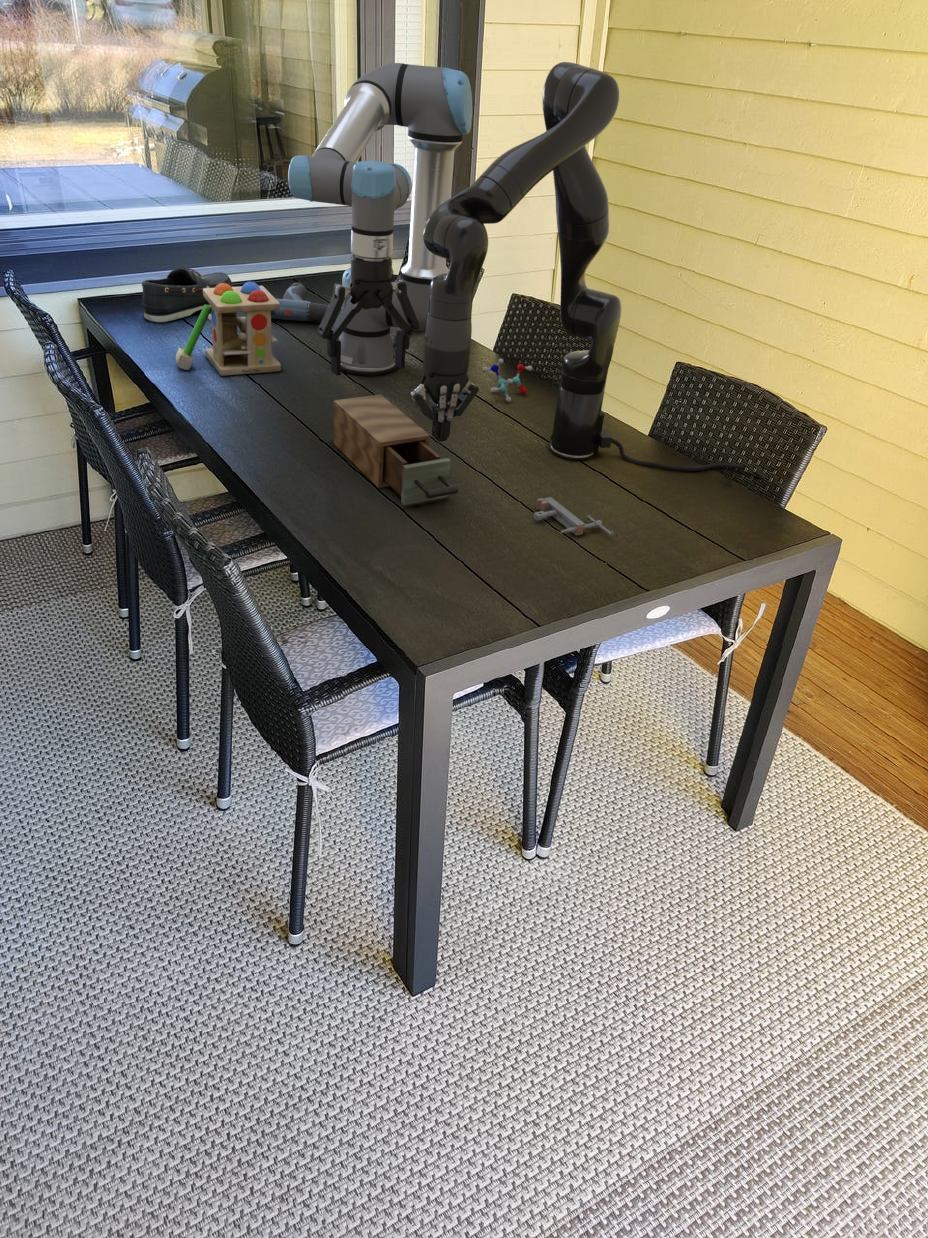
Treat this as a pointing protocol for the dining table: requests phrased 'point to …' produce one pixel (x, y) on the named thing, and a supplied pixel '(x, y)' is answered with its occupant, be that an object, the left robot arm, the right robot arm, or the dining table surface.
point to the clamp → (565, 517)
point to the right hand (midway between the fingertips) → (440, 439)
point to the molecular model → (503, 383)
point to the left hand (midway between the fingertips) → (368, 369)
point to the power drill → (298, 306)
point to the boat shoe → (178, 294)
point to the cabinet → (372, 432)
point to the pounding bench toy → (229, 347)
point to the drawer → (417, 472)
